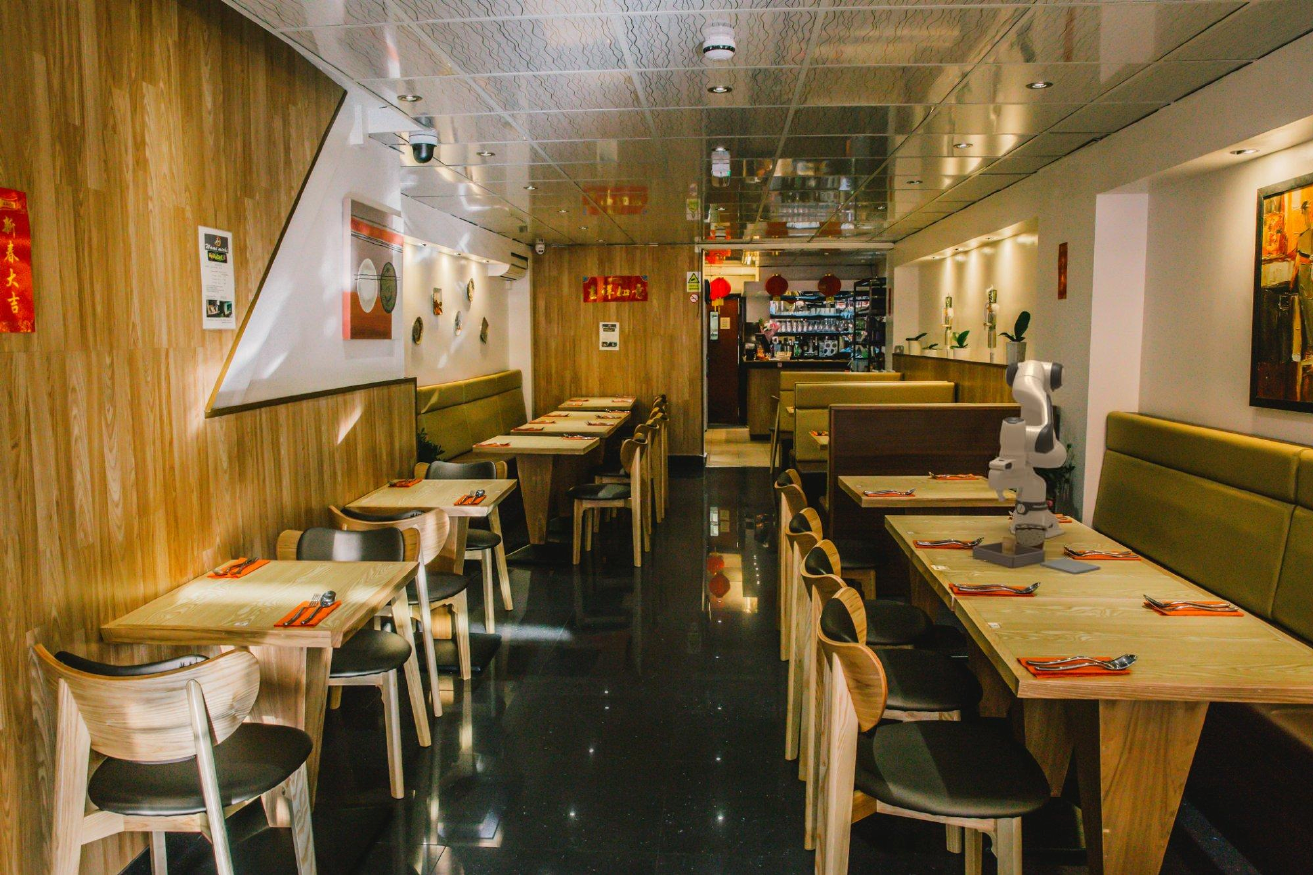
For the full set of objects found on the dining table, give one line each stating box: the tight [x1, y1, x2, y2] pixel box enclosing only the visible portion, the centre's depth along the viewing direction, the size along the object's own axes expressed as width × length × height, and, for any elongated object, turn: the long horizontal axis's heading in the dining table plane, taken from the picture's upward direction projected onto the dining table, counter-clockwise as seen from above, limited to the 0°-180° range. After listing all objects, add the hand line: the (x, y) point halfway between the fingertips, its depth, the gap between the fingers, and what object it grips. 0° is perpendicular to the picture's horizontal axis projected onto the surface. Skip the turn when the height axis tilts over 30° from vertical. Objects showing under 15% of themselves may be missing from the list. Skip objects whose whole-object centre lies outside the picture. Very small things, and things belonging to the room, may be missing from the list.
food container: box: [1013, 523, 1048, 550], centre depth 337 cm, size 12×6×10 cm, turn 84°
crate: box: [972, 541, 1046, 569], centre depth 324 cm, size 18×18×4 cm
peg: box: [1001, 536, 1016, 556], centre depth 323 cm, size 4×4×8 cm
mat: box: [1039, 557, 1101, 575], centre depth 313 cm, size 14×14×1 cm
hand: (1010, 500), depth 321 cm, fingers open, 8 cm apart
